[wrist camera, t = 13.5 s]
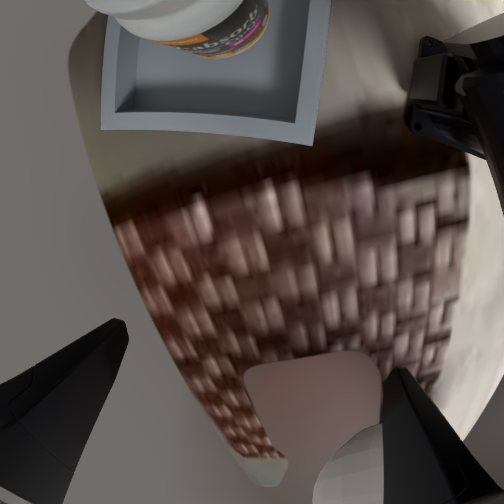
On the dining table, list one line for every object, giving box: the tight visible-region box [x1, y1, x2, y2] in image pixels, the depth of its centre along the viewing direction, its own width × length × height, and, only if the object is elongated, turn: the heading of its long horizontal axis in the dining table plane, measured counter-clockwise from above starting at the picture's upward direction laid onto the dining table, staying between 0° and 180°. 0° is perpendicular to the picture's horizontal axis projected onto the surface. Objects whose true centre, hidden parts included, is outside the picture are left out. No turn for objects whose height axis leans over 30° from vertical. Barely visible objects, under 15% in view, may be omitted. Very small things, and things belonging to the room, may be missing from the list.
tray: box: [101, 0, 331, 146], centre depth 12 cm, size 12×14×3 cm
